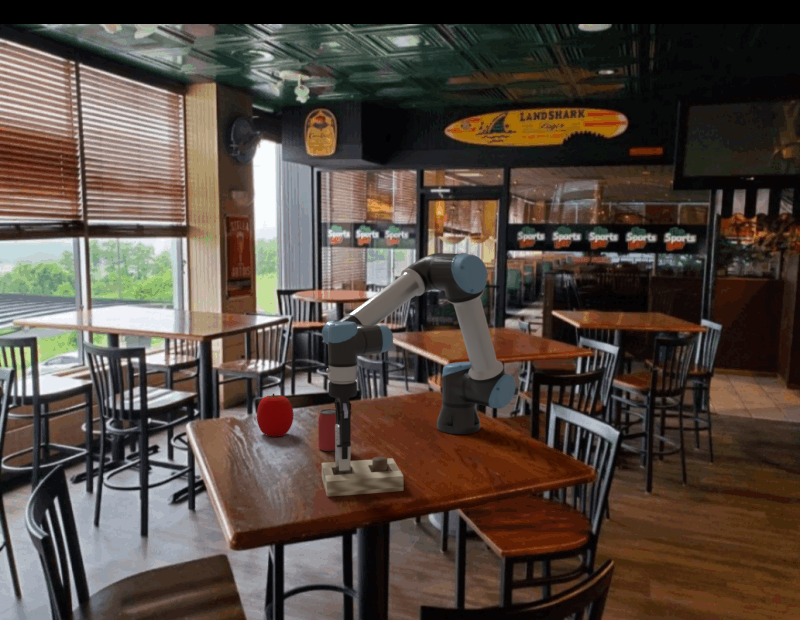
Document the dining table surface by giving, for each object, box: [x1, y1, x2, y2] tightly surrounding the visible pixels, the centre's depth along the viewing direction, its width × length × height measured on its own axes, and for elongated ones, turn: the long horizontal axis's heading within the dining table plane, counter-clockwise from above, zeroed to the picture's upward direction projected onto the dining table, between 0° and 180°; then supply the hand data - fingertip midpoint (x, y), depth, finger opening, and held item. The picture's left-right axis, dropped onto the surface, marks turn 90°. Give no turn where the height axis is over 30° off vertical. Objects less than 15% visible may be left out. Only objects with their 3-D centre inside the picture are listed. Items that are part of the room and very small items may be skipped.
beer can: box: [317, 408, 336, 452], centre depth 202 cm, size 7×7×12 cm
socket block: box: [321, 456, 404, 497], centre depth 174 cm, size 20×14×6 cm
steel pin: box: [334, 423, 351, 475], centre depth 172 cm, size 4×4×14 cm
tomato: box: [256, 393, 294, 438], centre depth 215 cm, size 13×11×14 cm
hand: (343, 466), depth 172 cm, fingers closed on steel pin, 4 cm apart
